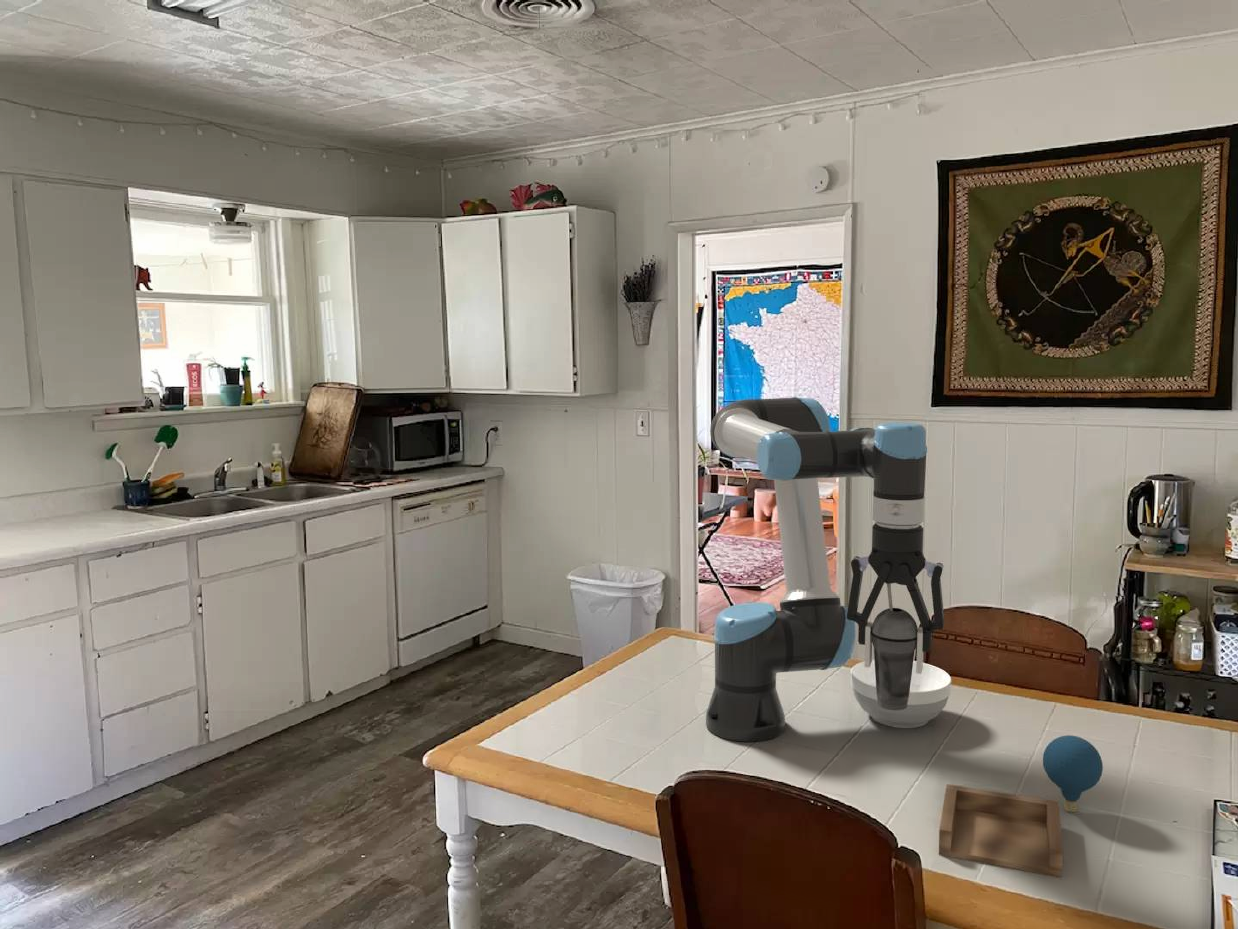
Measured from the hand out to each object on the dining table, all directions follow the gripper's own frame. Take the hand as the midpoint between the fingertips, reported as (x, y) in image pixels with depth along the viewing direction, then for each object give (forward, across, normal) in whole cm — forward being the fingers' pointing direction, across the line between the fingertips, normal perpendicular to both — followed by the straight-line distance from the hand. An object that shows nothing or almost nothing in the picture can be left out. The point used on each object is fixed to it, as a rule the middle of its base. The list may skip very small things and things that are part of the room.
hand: (893, 667), depth 147 cm
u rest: (+22, +16, -6) cm, 28 cm away
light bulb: (+23, +26, +7) cm, 36 cm away
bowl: (+23, -3, +36) cm, 43 cm away
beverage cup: (+6, 0, 0) cm, 6 cm away
